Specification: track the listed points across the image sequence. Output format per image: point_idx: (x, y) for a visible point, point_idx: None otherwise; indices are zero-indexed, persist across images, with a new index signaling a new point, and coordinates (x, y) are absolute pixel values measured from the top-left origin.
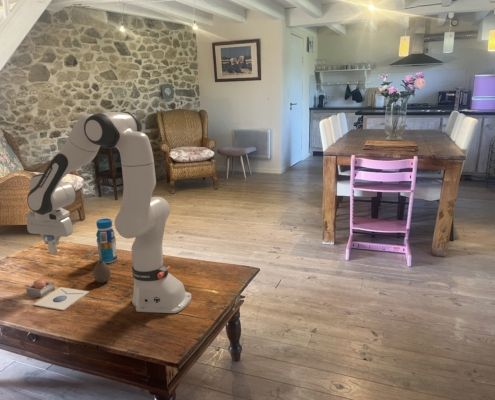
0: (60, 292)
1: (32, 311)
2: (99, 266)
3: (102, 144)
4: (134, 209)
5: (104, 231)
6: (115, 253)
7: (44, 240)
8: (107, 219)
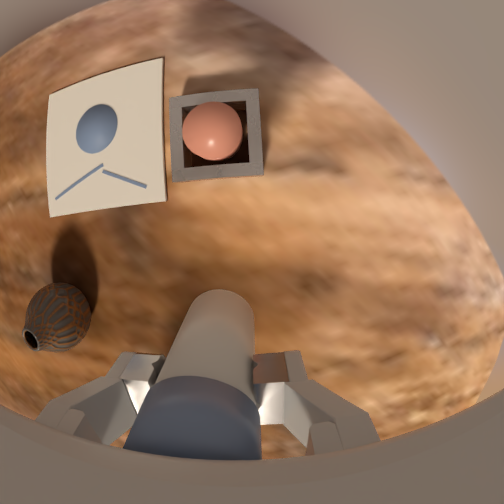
0: (129, 164)
1: (136, 39)
2: (28, 317)
3: None
4: None
5: None
6: None
7: (299, 380)
8: None
